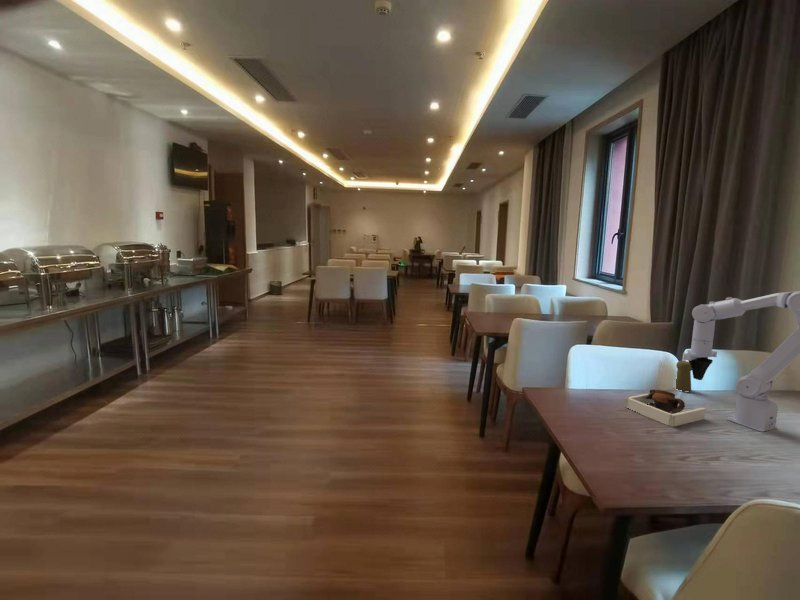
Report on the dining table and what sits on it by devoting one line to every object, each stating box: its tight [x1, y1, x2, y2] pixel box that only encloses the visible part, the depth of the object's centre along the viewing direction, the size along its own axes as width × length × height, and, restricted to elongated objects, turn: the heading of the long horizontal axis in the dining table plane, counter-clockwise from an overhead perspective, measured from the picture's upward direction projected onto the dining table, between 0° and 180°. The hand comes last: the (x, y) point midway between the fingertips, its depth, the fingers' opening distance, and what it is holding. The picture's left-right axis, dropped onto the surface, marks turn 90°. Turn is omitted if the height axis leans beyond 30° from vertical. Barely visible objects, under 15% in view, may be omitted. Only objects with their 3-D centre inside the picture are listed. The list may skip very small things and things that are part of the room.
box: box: [624, 392, 707, 428], centre depth 136 cm, size 16×16×4 cm
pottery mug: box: [646, 389, 686, 414], centre depth 137 cm, size 12×10×8 cm
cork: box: [676, 360, 692, 392], centre depth 159 cm, size 6×6×11 cm
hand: (697, 379), depth 141 cm, fingers closed
